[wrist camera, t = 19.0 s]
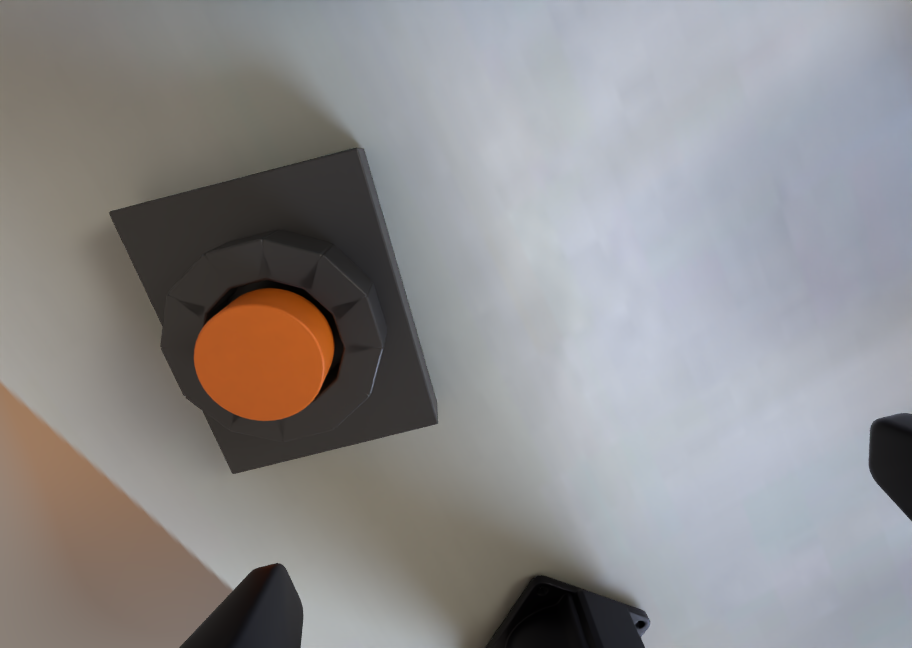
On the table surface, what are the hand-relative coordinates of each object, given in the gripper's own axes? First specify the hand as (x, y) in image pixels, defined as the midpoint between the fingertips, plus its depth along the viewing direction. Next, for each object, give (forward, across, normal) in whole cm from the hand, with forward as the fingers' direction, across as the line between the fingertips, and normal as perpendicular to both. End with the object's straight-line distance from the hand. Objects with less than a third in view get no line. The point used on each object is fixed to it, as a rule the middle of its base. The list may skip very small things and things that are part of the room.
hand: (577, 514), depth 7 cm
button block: (+12, +7, -1) cm, 14 cm away
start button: (+9, +7, -1) cm, 11 cm away
